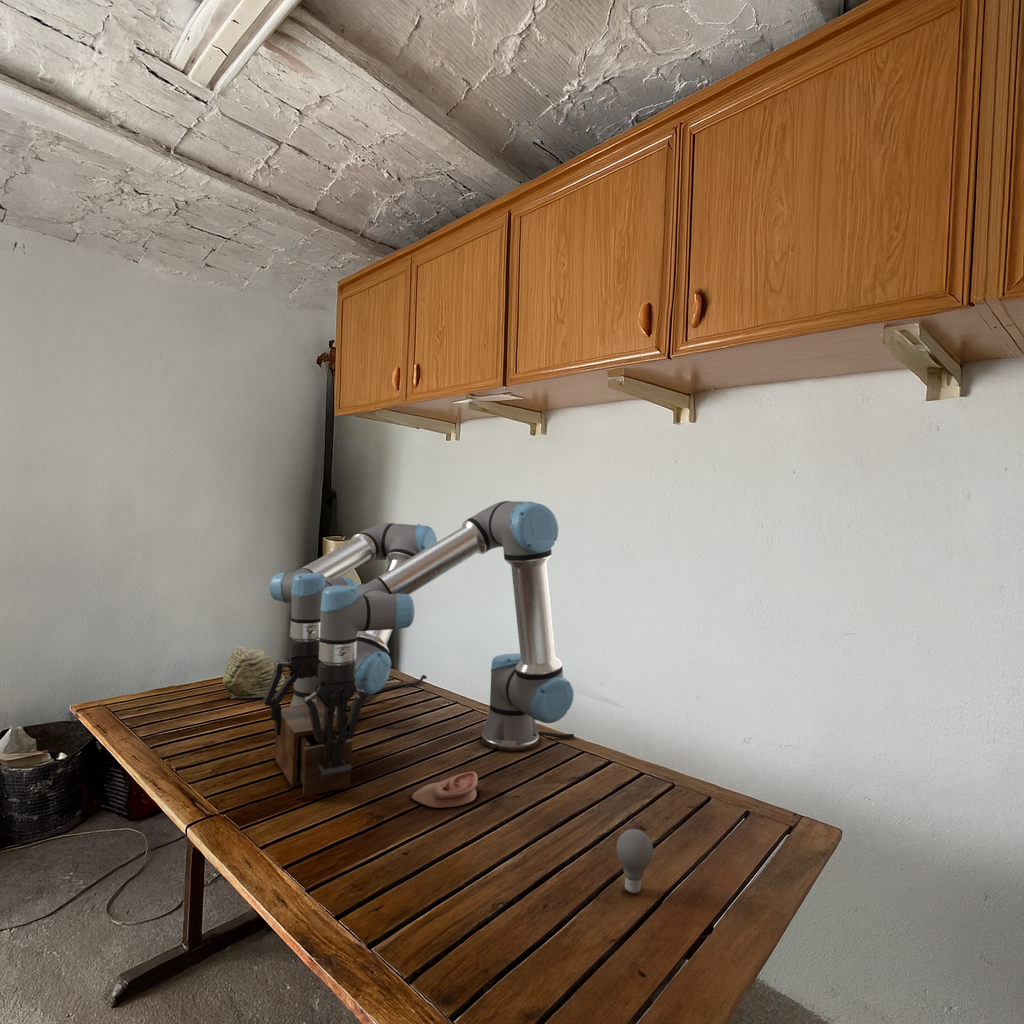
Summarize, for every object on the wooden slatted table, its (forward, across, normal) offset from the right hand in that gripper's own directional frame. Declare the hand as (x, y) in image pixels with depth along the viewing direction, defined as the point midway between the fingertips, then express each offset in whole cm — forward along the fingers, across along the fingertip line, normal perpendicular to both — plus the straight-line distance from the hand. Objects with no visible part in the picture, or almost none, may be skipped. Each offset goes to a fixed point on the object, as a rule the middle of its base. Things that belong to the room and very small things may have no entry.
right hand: (332, 773), depth 132 cm
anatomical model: (+6, +22, -8) cm, 24 cm away
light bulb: (+6, +35, -53) cm, 64 cm away
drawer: (+5, 0, +8) cm, 9 cm away
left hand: (-1, 0, +24) cm, 24 cm away
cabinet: (+6, 0, +19) cm, 20 cm away
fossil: (+7, -1, +79) cm, 79 cm away
